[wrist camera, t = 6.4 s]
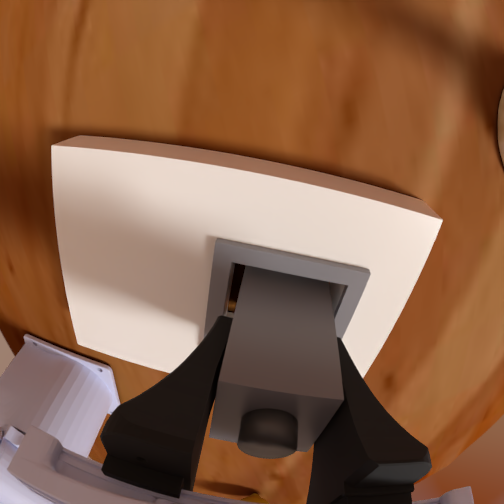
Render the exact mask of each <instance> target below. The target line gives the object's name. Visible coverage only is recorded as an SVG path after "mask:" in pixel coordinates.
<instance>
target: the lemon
mask: <svg viewBox="0 0 504 504" xmlns="http://www.w3.org/2000/svg"><path fill="white" fill-rule="evenodd" d="M240 501H247V502H254V503H263V504H269V503H268V502H267V501H266V500H265V499H263V498H261V497H260V496H259V495H258V494H256V493H254V494H252V495H251V496H249V497H245V498H243V499H241V500H240Z"/></svg>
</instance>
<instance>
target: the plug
mask: <svg viewBox="0 0 504 504" xmlns="http://www.w3.org/2000/svg"><path fill="white" fill-rule="evenodd" d="M343 401H344V394H343V384H342V375H341V367H340V359H339V351H338V343H337V335H336V328H335V321H334V314H333V307H332V301H331V294H330V288H329V282H328V281H323V280H317V279H312V278H307V277H302V276H297V275H292V274H287V273H282V272H277V271H273V270H268V269H263V268H258V267H253V266H248V265H246V266H245V271H244V275H243V279H242V283H241V287H240V292H239V296H238V300H237V304H236V308H235V312H234V317H233V321H232V325H231V329H230V333H229V338H228V342H227V346H226V350H225V355H224V359H223V363H222V367H221V371H220V376H219V380H218V386H217V392H216V398H215V404H214V410H213V416H212V422H211V428H210V435H209V437H211V438H215V439H220V440H225V441H231V442H236V443H237V446H238V448H239V449H240V450H241V451H243V452H244V453H246V454H248V455H251V456H254V457H259V458H268V459H274V458H282V457H286V456H289V455H291V454H293V453H294V452H295V451H302V452H307V451H308V450H309V449H310V448H311V446H312V445H313V444H314V442H315V441H316V439H317V438H318V437H319V435H320V434H321V433H322V431H323V430H324V428H325V427H326V426H327V424H328V423H329V421H330V420H331V418H332V417H333V416H334V414H335V413H336V411H337V410H338V408H339V407H340V405H341V404H342V402H343Z"/></svg>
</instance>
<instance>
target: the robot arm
mask: <svg viewBox="0 0 504 504" xmlns="http://www.w3.org/2000/svg"><path fill="white" fill-rule="evenodd" d="M232 321H233V318H231V317H226V316H221V315H220V316H218V317H217V319H216V321H215V323H214V325H213V326H212V328H211V329H210V331H209V332H208V334H207V335H206V336H205V338H204V339H203V340H202V341H201V343H200V344H199V345H198V346H197V348H196V349H195V350H194V351H193V352H192V353H191V354H190V355H189V356H188V357H187V358H186V359H185V360H184V361H183V362H182V363H181V364H180V365H179V366H178V367H177V368H176V369H175V370H174V371H172V372H171V373H170V374H169V375H168V376H166V377H165V378H164V379H162V380H161V381H160V382H158V383H157V384H156V385H154V386H153V387H151V388H150V389H148V390H146V391H145V392H143V393H142V394H140V395H138V396H137V397H135V398H133V399H131V400H129V401H127V402H125V403H123V404H121V405H120V401H119V397H118V393H117V389H116V385H115V380H114V376H113V371H112V369H111V368H110V367H109V366H108V365H105V364H102V363H99V362H96V361H94V360H91V359H88V358H85V357H83V356H80V355H77V354H75V353H72V352H69V351H67V350H64V349H62V348H59V347H57V346H54V345H52V344H50V343H47V342H45V341H43V340H40V339H38V338H36V337H33V336H31V335H29V334H25V335H24V340H25V344H24V346H23V347H22V348H21V350H20V351H19V352H18V354H17V355H16V356H15V358H14V359H13V360H12V362H11V363H10V364H9V366H8V367H7V369H6V370H5V371H4V373H3V374H2V376H1V377H0V504H263V503H254V502H247V501H240V500H233V499H227V498H221V497H216V496H211V495H206V494H201V493H196V492H192V491H193V486H194V482H195V477H196V472H197V468H198V463H199V459H200V454H201V450H202V445H203V441H204V436H205V432H206V427H207V423H208V419H209V415H210V412H211V409H212V406H213V403H214V400H215V397H216V392H217V386H218V380H219V376H220V371H221V367H222V363H223V359H224V355H225V350H226V346H227V342H228V338H229V333H230V329H231V325H232ZM337 343H338V351H339V359H340V367H341V375H342V384H343V394H344V401H343V402H342V404H341V405H340V407H339V408H338V410H337V411H336V413H335V414H334V416H333V417H332V418H331V420H330V421H329V423H328V424H327V426H326V427H325V428H324V430H323V431H322V433H321V434H320V435H319V437H318V438H317V439H316V441H315V442H314V452H313V463H312V472H311V479H310V486H309V492H308V497H307V503H306V504H474V501H473V496H472V491H471V487H470V486H468V487H463V488H459V489H454V490H451V491H449V492H447V493H445V494H443V495H442V496H441V497H439V498H434V499H428V500H422V501H415V502H412V498H411V492H413V491H414V484H413V483H415V482H416V481H418V480H419V479H420V478H422V477H423V476H425V475H426V474H427V473H428V472H429V471H430V469H431V468H432V465H431V459H430V454H429V451H428V448H427V447H426V446H425V445H423V444H422V443H421V442H419V441H418V440H417V439H415V438H414V437H413V436H412V435H410V434H409V433H408V432H407V431H406V430H405V429H404V428H402V427H401V426H400V425H399V424H398V423H397V422H396V421H395V420H394V419H393V418H392V416H391V415H390V414H389V413H388V412H387V411H386V410H385V409H384V408H383V406H382V405H381V404H380V403H379V401H378V400H377V399H376V397H375V396H374V395H373V393H372V392H371V391H370V389H369V387H368V386H367V384H366V383H365V381H364V380H363V378H362V376H361V375H360V373H359V371H358V369H357V368H356V366H355V364H354V362H353V361H352V359H351V357H350V355H349V353H348V351H347V349H346V347H345V345H344V343H343V342H342V340H341V338H340V337H337ZM107 413H108V414H111V416H110V417H109V419H108V420H107V422H106V424H105V426H104V428H103V431H102V433H101V435H100V437H101V441H102V443H103V445H104V447H105V449H106V451H107V456H106V458H105V461H104V463H103V464H101V463H99V462H96V461H94V460H91V459H89V458H87V457H88V455H89V453H90V450H91V448H92V446H93V443H94V441H95V439H96V437H97V434H98V432H99V430H100V428H101V426H102V423H103V421H104V419H105V417H106V415H107Z"/></svg>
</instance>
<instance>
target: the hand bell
mask: <svg viewBox="0 0 504 504" xmlns="http://www.w3.org/2000/svg"><path fill="white" fill-rule="evenodd" d="M498 143H499V149H500V154H501V158H502V162H503V165H504V89H503V92H502V96H501V100H500V104H499V109H498Z"/></svg>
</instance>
